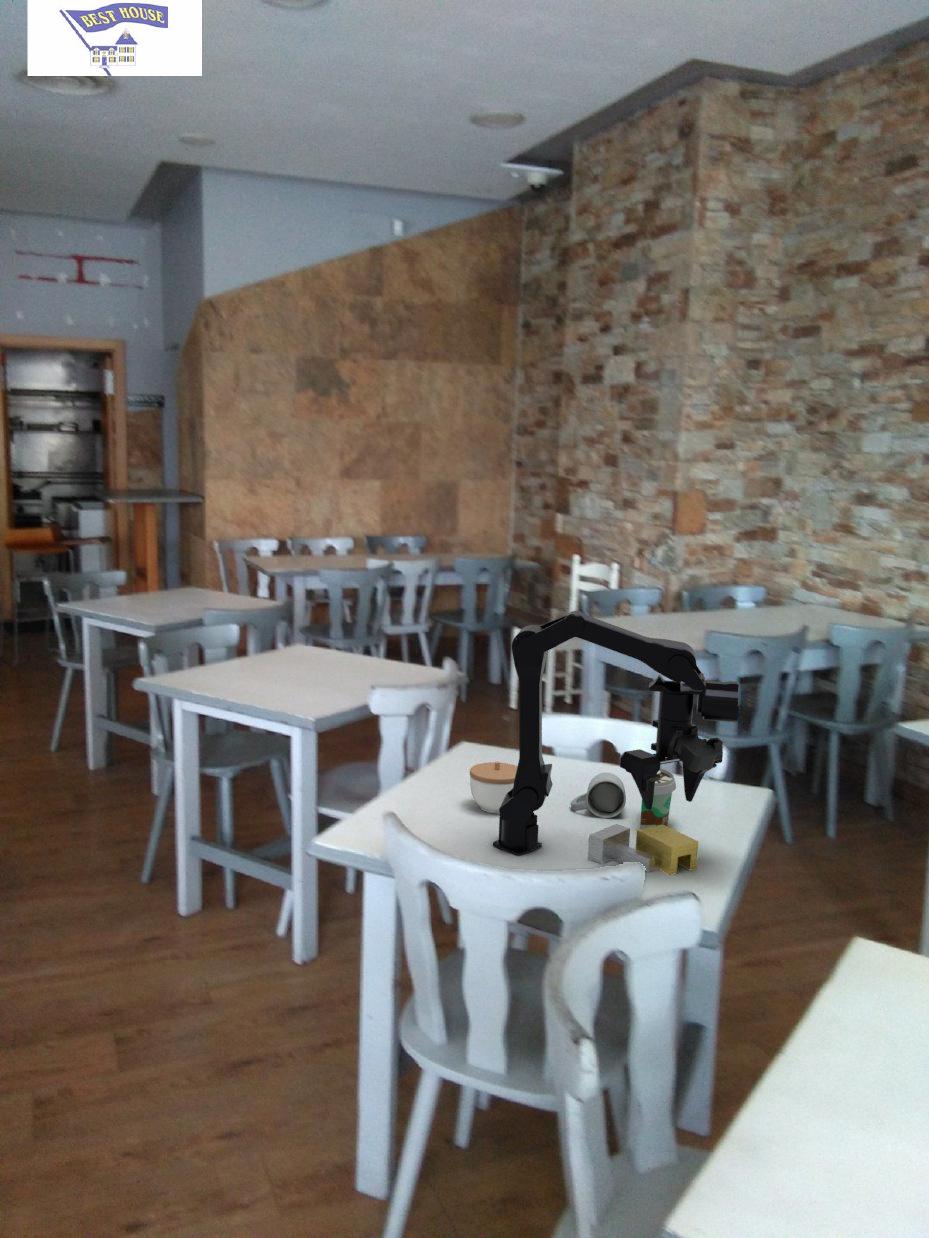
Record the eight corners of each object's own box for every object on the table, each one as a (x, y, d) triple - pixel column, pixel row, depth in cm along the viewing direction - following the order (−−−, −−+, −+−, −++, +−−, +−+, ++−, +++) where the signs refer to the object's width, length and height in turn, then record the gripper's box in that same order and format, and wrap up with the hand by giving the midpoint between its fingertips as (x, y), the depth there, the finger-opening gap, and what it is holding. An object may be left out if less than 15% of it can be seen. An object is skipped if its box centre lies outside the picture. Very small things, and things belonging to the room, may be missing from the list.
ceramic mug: (623, 805, 210) (625, 768, 209) (625, 819, 202) (626, 781, 201) (570, 802, 211) (571, 766, 210) (569, 816, 203) (571, 778, 202)
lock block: (635, 856, 185) (636, 829, 184) (661, 850, 188) (662, 824, 187) (670, 875, 177) (671, 847, 176) (696, 868, 180) (698, 841, 179)
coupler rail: (587, 858, 183) (589, 834, 182) (614, 847, 188) (616, 823, 188) (638, 877, 175) (639, 852, 175) (664, 864, 181) (666, 840, 180)
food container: (673, 839, 193) (676, 787, 192) (639, 835, 194) (642, 783, 193) (673, 816, 205) (677, 767, 203) (641, 813, 206) (645, 764, 205)
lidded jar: (493, 795, 214) (495, 750, 213) (534, 808, 207) (536, 763, 205) (457, 807, 206) (458, 761, 205) (497, 821, 199) (499, 774, 198)
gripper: (665, 735, 166) (659, 829, 169) (749, 722, 176) (742, 811, 179) (620, 718, 176) (615, 807, 178) (702, 707, 185) (696, 791, 188)
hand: (668, 805), depth 181 cm, fingers open, 9 cm apart
